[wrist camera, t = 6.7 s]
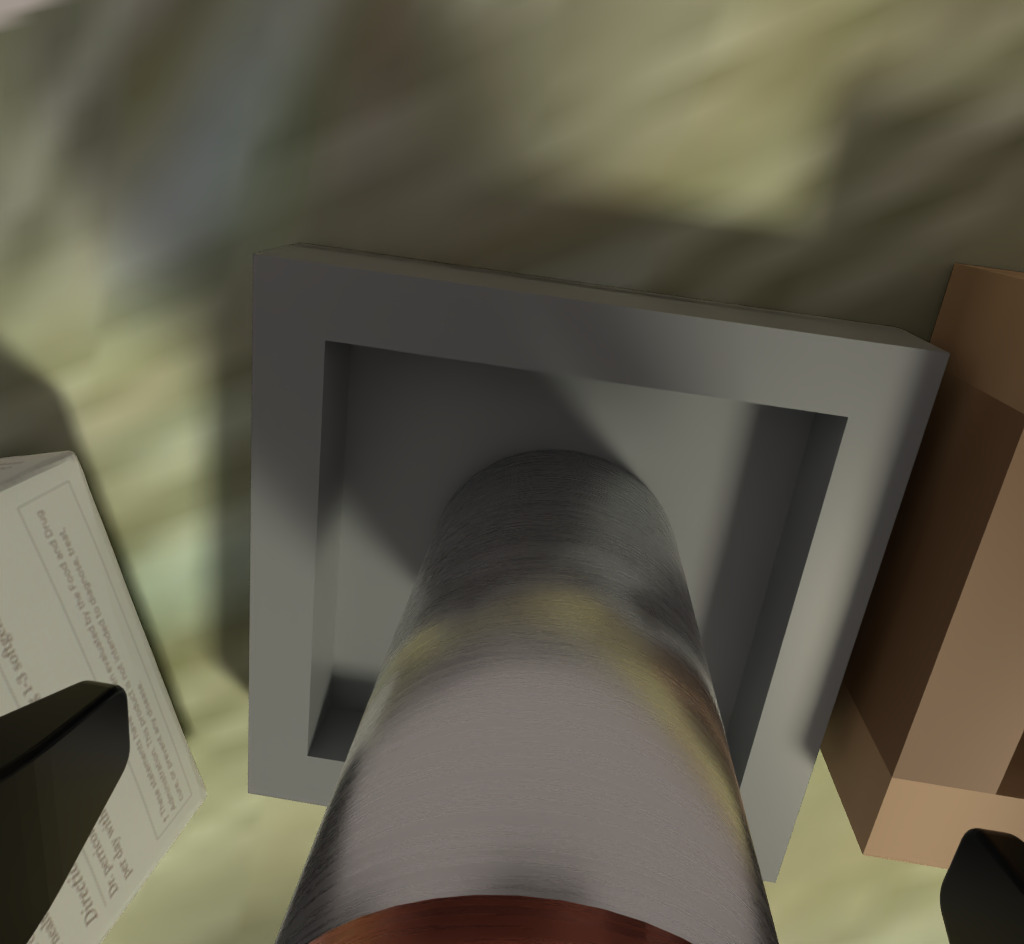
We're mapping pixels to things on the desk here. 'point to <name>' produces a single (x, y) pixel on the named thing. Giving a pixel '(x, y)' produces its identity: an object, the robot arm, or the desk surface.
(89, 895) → the supplement box
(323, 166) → the desk surface
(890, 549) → the socket block
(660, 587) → the grey and red cylinder
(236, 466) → the desk surface
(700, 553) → the tray
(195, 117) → the desk surface
